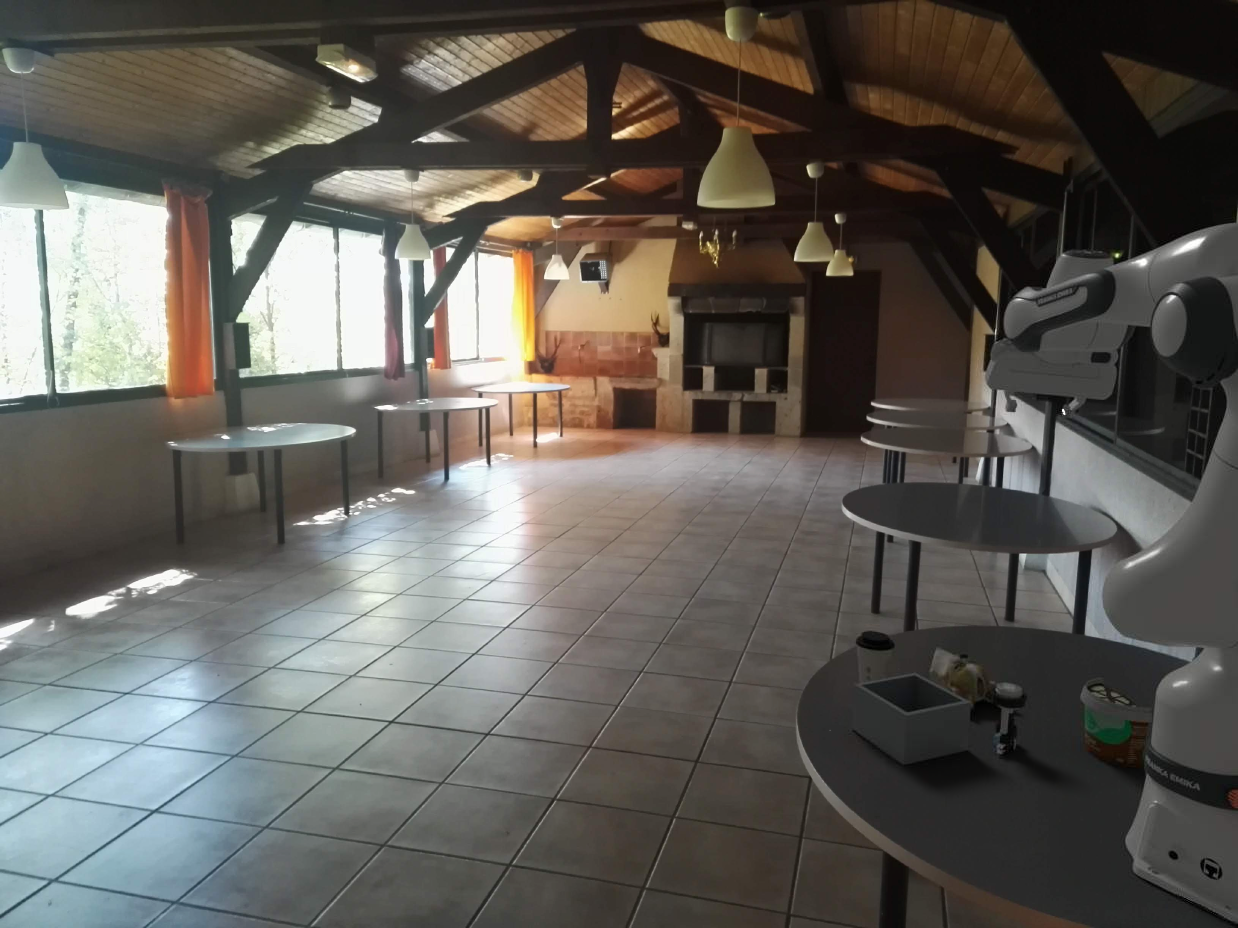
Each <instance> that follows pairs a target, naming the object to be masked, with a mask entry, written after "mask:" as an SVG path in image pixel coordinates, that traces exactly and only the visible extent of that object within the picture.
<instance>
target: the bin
mask: <svg viewBox="0 0 1238 928" xmlns="http://www.w3.org/2000/svg"><path fill="white" fill-rule="evenodd" d="M852 699H853V701H852V720H851V721H852V722H851V724H852V725H851V729H852V728H853V729H854V730H855V731H857V732H858V733H859V734H861V735H862V736H863V737H865V738H866V739H867V740H869V741H870V742H871V743H870V742H869V741H868V742H869V743H870V744H872V743H873V744H874V745H873V744H872V745H873V746H875V745H876V746H875V747H877V749H879V748H880V749H879V750H880V751H882V750H883V751H882V752H884V753H885V754H887V755H888V756H890V757H891V758H892V759H894V760H895V761H897V762H898V763H900V764H902V765H903V766H904V765H905V766H906V765H909V764H914V763H918V762H923V761H927V760H931V759H936V758H939V757H944V756H945V757H946V756H948V755H949V756H950V755H953V754H957V753H962V752H966V751H968V750H969V738H970V737H969V735H970V724H971V723H970V722H971V721H970V720H971V711H972V710H971V702H970V701H968V700H966V699H964V698H962V697H960V696H958V695H956V694H955V693H953V692H951V691H949V690H947V689H945V688H943V687H941V686H939V685H937V684H936V683H934V682H932V681H930V679H928V678H926V677H924V676H922V675H921V674H918V673H917V672H911V673H908V674H902V675H896V676H892V677H891V676H890V677H888V678H885V679H879V680H874V681H868V682H863V683H860V682H858V683H854V684H853V698H852ZM863 737H862V738H863ZM866 739H865V740H866ZM867 740H866V741H867Z"/></svg>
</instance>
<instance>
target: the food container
mask: <svg viewBox="0 0 1238 928" xmlns="http://www.w3.org/2000/svg"><path fill="white" fill-rule="evenodd" d="M1085 683H1086V684H1084V686H1083V688H1082V690H1081V694H1080V701H1081V702H1082V703H1083V704H1084V715H1085V716H1084V736H1085V737H1084V739H1085V740H1084V741H1085V743H1084V744H1085V745H1084V748H1085V750H1086V752H1087V753H1088V754H1089V755H1091V756H1092V757H1094V758H1096V759H1097V760H1100V761H1103V762H1105V763H1108V764H1111V765H1114V766H1120V767H1125V768H1133V769H1134V768H1135V769H1136V768H1138V769H1139V768H1142V767H1141V765H1142V760H1143V755H1144V750H1145V744H1146V739H1147V734H1148V729H1149V723H1153V713H1152V707H1140V706H1139V705H1137V704H1135V702H1133V701H1132V700H1131V699H1130V698H1129V697H1128V696H1126V695H1125V694H1124V693H1121V692H1118V691H1115V690H1113V689H1111V688H1110V687H1108V686H1107V685H1105V684H1104V678H1103V677H1098V678H1093V679H1090V680H1088V681H1087V682H1085Z"/></svg>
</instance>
